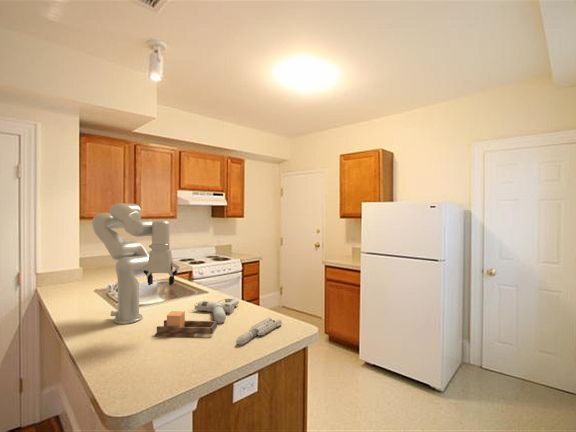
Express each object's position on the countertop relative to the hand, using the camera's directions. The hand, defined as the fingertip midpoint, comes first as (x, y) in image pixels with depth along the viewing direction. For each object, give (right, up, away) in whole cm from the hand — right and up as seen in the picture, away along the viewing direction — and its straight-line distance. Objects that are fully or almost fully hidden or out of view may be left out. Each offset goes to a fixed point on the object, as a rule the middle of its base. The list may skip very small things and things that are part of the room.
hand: (160, 284), depth 142 cm
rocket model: (+45, -23, -2) cm, 50 cm away
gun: (+16, -22, +26) cm, 38 cm away
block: (+7, -20, 0) cm, 21 cm away
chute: (+13, -22, 0) cm, 25 cm away
